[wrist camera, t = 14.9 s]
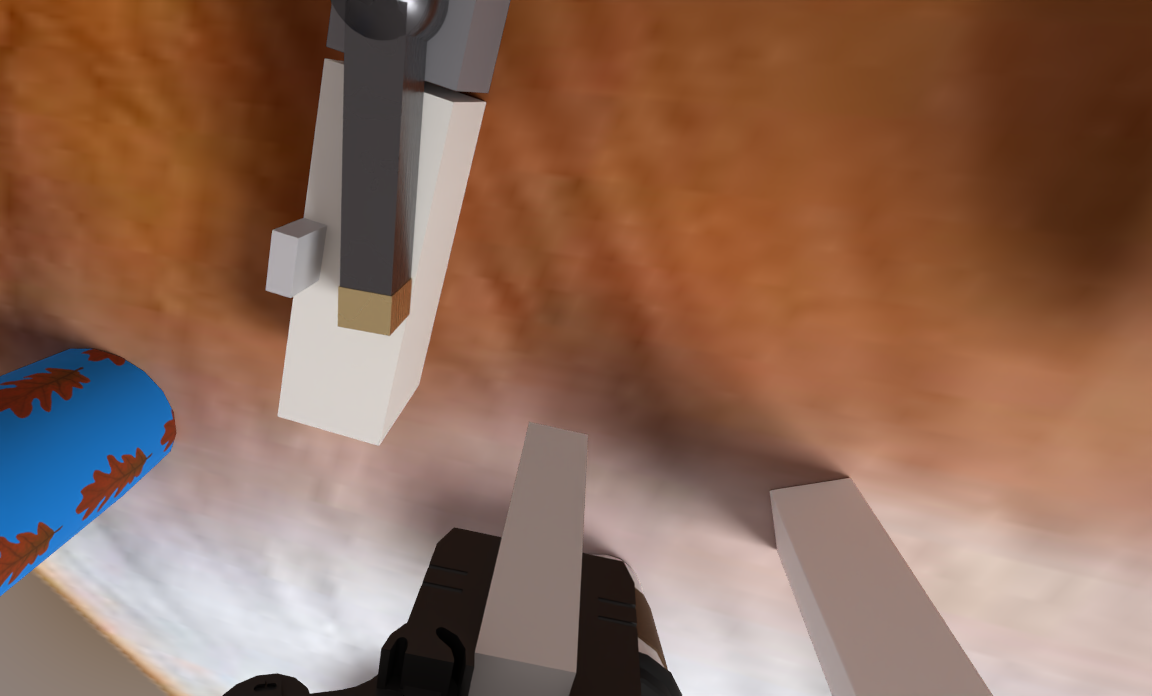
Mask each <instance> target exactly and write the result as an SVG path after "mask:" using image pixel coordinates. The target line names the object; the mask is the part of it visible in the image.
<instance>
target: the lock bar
mask: <svg viewBox="0 0 1152 696" xmlns="http://www.w3.org/2000/svg"><path fill="white" fill-rule="evenodd" d="M331 3H332V4H333V6H334V8H335V10H336V12H337V13H338V15H339V16H340V17H341V19H342V20H343V21H344V22H345V35H344V89H343V142H342V196H341V249H340V286H339V287H338V327H343V328H348V329H354V330H359V331H365V332H370V333H376V334H381V335H387V336H390V335H391V334H392V333H393V332H394V331H395V330H396V329H397V328H398V326H399V325H400V324H401V323H402V322H403V321H404V320H405V319H406V318H407V317H408V316H409V314H410V304H411V289H412V278H411V271H412V257H413V242H414V227H415V213H416V198H417V184H418V169H419V155H420V140H421V126H422V111H423V97H424V82H425V67H426V53H427V41H429V40H430V39H431V38H433V37H434V36H435V35H436V34H437V32H438V31H439V30H440V28H441V27H442V25H443V23H444V21H445V18H446V15H447V11H448V5H449V0H331Z"/></svg>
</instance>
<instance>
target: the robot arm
mask: <svg viewBox="0 0 1152 696" xmlns="http://www.w3.org/2000/svg"><path fill="white" fill-rule="evenodd" d="M587 448H588V435H587V434H583V433H578V432H574V431H569V430H565V429H560V428H556V427H551V426H546V425H542V424H537V423H533V422H529V425H528V429H527V433H526V437H525V442H524V446H523V450H522V454H521V459H520V463H519V467H518V471H517V476H516V480H515V484H514V488H513V493H512V497H511V501H510V505H509V510H508V514H507V518H506V522H505V526H504V531H503V535H502V537H497V536H492V535H487V534H483V533H478V532H473V531H468V530H464V529H459V528H453V529H452V530H451V531H450V532H449V533H448V534H447V535H446V536H445V537H444V538H442V539H441V540H440V541H439V542H438V543H437V546H436V548H435V551H434V553H433V556H432V559H431V561H430V564H429V568H428V569H427V572H426V575H425V577H424V580H423V583H422V586H421V588H420V590H419V593H418V596H417V598H416V601H415V604H414V606H413V609H412V612H411V614H410V617H409V620H408V622H407V623H406V624H404V625H403V626H401V627H400V628H399V629H397V630H396V631H394V632H393V633H392V634H391V635H390V636H389V638H388V639H387V641H386V642H385V644H384V645H383V647H382V649H381V657H380V664H379V672H378V675H377V676H375V677H374V678H372V679H371V680H369V681H367V682H365V683H363V684H361V685H358V686H356V687H352V688H347V689H343V690H337V691H329V692H321V693H313V694H310V693H309V690H308V688H307V687H306V686H305V685H303V684H302V683H301V682H300V681H298V680H297V679H296V678H294V677H290V676H286V675H282V674H268V675H259V676H255V677H253V678H250V679H248V680H246V681H243V682H241V683H239V684H236V685H235V686H234V687H233V688H231V689H230V690H229V691H228V692H226V693H225V694H224V695H223V696H641V681H640V664H639V648H638V632H637V628H636V626H637V615H636V609H635V606H636V599H635V583H634V581H633V579H632V577H631V575H630V573H629V571H628V569H627V567H626V565H625V563H624V561H619V560H614V559H609V558H605V557H600V556H595V555H590V554H586V553H582V548H583V528H584V508H585V488H586V468H587Z"/></svg>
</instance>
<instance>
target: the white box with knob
mask: <svg viewBox="0 0 1152 696" xmlns="http://www.w3.org/2000/svg"><path fill="white" fill-rule="evenodd" d="M509 4H510V0H449V5H448V11H447V15H446V18H445V21H444V23H443V25H442V27H441V28H440V30H439V31H438V32H437V34H436V35H435V36H434V37H433V38H431V39H430V40H429V41H427V53H426V67H425V82H424V97H423V111H422V126H421V140H420V155H419V169H418V184H417V198H416V213H415V227H414V242H413V257H412V271H411V278H412V289H411V304H410V314H409V316H408V317H407V318H406V319H405V320H404V321H403V322H402V323H401V324H400V325H399V326H398V328H397V329H396V330H395V331H394V332H393V333H392V334H391V335H390V336H387V335H381V334H376V333H370V332H365V331H359V330H354V329H348V328H343V327H338V287H339V286H340V249H341V196H342V142H343V89H344V61H339V60H333V59H326V58H325V59H324V67H323V75H322V82H321V90H320V97H319V105H318V113H317V120H316V128H315V135H314V143H313V151H312V158H311V166H310V174H309V181H308V189H307V196H306V204H305V212H304V218H302V219H299V220H297V221H294V222H292V223H289V224H286V225H284V226H281V227H279V228H276V229H274V230H272V237H271V246H270V255H269V264H268V273H267V282H266V291H269V292H273V293H276V294H279V295H282V296H286V297H289V298H292V297H293V303H292V311H291V318H290V326H289V333H288V341H287V349H286V356H285V364H284V372H283V379H282V387H281V394H280V402H279V410H278V417H281V418H285V419H288V420H292V421H295V422H299V423H302V424H306V425H309V426H312V427H316V428H319V429H323V430H326V431H330V432H333V433H336V434H340V435H343V436H347V437H350V438H354V439H357V440H361V441H364V442H367V443H371V444H374V445H378V446H379V445H380V444H381V442H382V441H383V439H384V438H385V436H386V435H387V433H388V431H389V430H390V428H391V427H392V425H393V424H394V422H395V421H396V419H397V418H398V416H399V415H400V413H401V412H402V410H403V409H404V407H405V405H406V404H407V402H408V401H409V399H410V398H411V396H412V395H413V393H414V392H415V390H416V389H417V387H418V386H419V383H420V378H421V374H422V370H423V366H424V362H425V357H426V353H427V349H428V345H429V341H430V336H431V332H432V328H433V324H434V320H435V315H436V311H437V307H438V303H439V298H440V294H441V290H442V286H443V282H444V277H445V273H446V269H447V265H448V261H449V256H450V252H451V248H452V244H453V240H454V235H455V231H456V227H457V223H458V219H459V214H460V210H461V206H462V202H463V198H464V193H465V189H466V185H467V181H468V176H469V172H470V168H471V164H472V160H473V155H474V151H475V147H476V143H477V139H478V134H479V130H480V126H481V122H482V118H483V113H484V109H485V105H486V102H485V101H482V100H479V99H476V98H473V97H470V96H467V95H465V94H462V93H459V92H456V91H463V92H479V93H488V92H489V88H490V84H491V80H492V76H493V71H494V67H495V63H496V59H497V54H498V50H499V46H500V42H501V38H502V33H503V29H504V25H505V21H506V17H507V12H508V8H509ZM344 35H345V22H344V21H343V20H342V19H341V17H340V16H339V15H338V13H337V12H336V10H335V8H334V6H333V4H332V6H331V14H330V21H329V29H328V36H327V44H326V47H329V48H332V49H335V50H338V51H341V52H344ZM427 81H428V82H427ZM430 82H431V83H430ZM432 83H434V84H432ZM435 84H437V85H435ZM438 85H440V86H438ZM441 86H443V87H441ZM444 87H446V88H444ZM447 88H449V89H447ZM450 89H452V90H450ZM453 90H454V91H453Z"/></svg>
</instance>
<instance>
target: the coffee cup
mask: <svg viewBox="0 0 1152 696" xmlns="http://www.w3.org/2000/svg"><path fill="white" fill-rule="evenodd" d="M595 556H600V557H605V558H609V559H614V560H619V561H622V560H621V559H618V558H615V557H612V556H609V555H595ZM624 563H625V562H624ZM625 565H626V567H627V569H628V571H629V573H630V575H631V577H632V579H633V581H634V583H635V599H636V606H635V609H636V615H637V626H636V628H637V632H638V648H639V664H640V681H641V696H682V694H681V692H680V690H679V688H678V686H677V684H676V682H675V680H674V678H673V676H672V674H671V672H669V671H668V669H667V665H666V662H665V658H664V654H663V651H662V647H661V644H660V640H659V637H658V633H657V630H656V626H655V623H654V619H653V616H652V612H651V609H650V607H649V605H648V603H647V601H646V598H645V596H644V592H643V589H642V585H641V583H640V581H639V579H638V577H637V575H636V573H635V572H634V571H633V570H632V568H631V567H629V566H628V565H627V564H626V563H625Z"/></svg>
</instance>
